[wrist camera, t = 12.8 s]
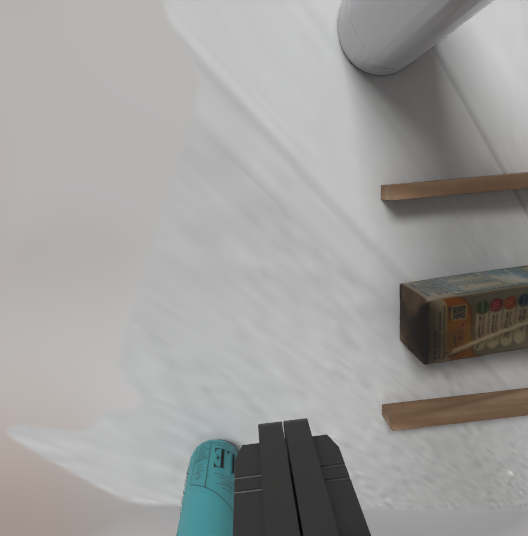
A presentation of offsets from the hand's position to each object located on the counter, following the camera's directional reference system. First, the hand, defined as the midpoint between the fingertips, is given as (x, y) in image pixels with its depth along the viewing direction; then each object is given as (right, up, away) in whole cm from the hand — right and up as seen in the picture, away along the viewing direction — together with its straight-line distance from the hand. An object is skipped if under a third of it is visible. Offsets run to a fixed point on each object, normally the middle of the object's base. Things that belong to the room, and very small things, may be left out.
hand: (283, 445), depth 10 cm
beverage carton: (+25, +1, +31) cm, 40 cm away
